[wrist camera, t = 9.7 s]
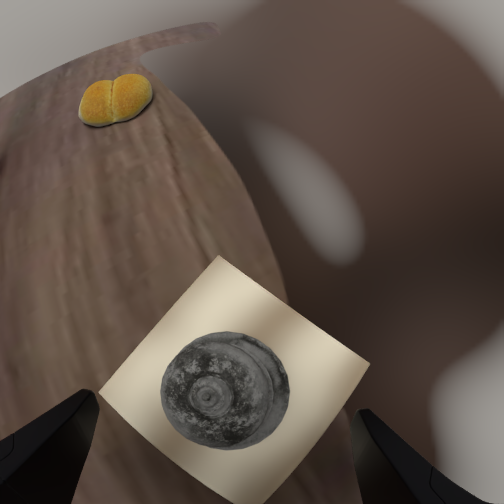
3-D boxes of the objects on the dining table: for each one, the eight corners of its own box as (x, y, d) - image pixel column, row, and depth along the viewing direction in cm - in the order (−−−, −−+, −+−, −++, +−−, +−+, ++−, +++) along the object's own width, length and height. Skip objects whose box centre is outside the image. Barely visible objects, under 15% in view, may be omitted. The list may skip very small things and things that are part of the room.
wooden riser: (356, 367, 19) (370, 363, 17) (251, 501, 15) (252, 514, 13) (220, 269, 22) (218, 255, 20) (113, 393, 18) (98, 392, 16)
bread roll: (153, 117, 30) (146, 89, 26) (80, 137, 29) (68, 111, 25) (154, 81, 33) (149, 56, 30) (91, 97, 32) (82, 75, 28)
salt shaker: (265, 331, 18) (302, 233, 7) (292, 423, 15) (381, 476, 5) (169, 353, 17) (61, 289, 6) (193, 447, 15) (115, 531, 4)
